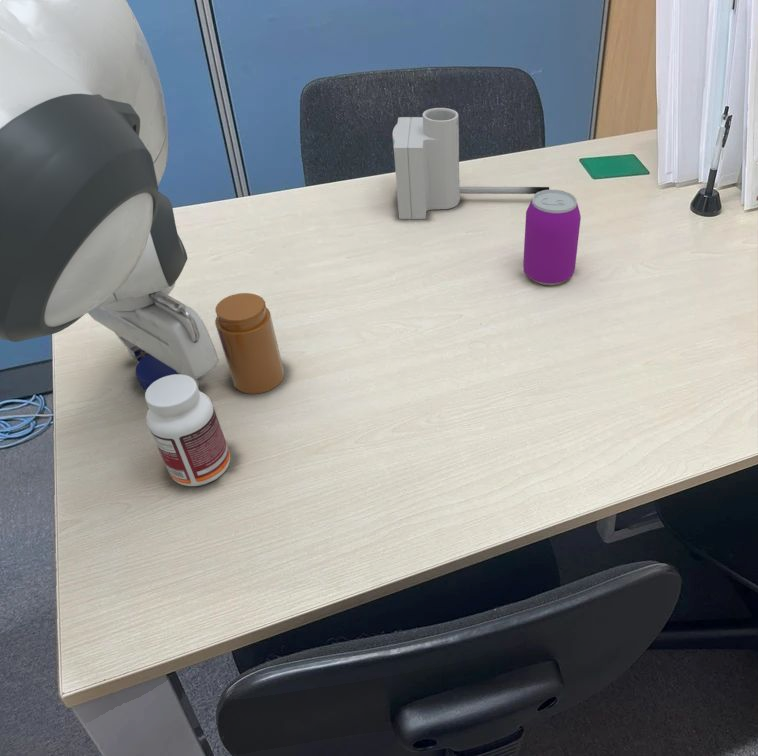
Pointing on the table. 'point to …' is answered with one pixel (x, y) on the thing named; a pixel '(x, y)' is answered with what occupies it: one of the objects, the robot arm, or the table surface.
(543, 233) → the beverage can
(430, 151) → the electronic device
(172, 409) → the pill bottle
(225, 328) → the jar
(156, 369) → the lid
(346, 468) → the table surface
